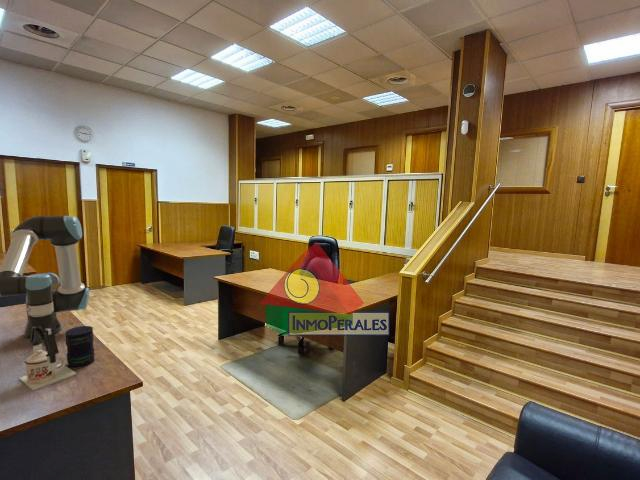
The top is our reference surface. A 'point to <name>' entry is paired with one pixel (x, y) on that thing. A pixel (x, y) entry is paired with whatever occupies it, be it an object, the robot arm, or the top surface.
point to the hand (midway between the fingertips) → (45, 365)
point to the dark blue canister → (80, 346)
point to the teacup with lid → (39, 368)
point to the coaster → (60, 375)
